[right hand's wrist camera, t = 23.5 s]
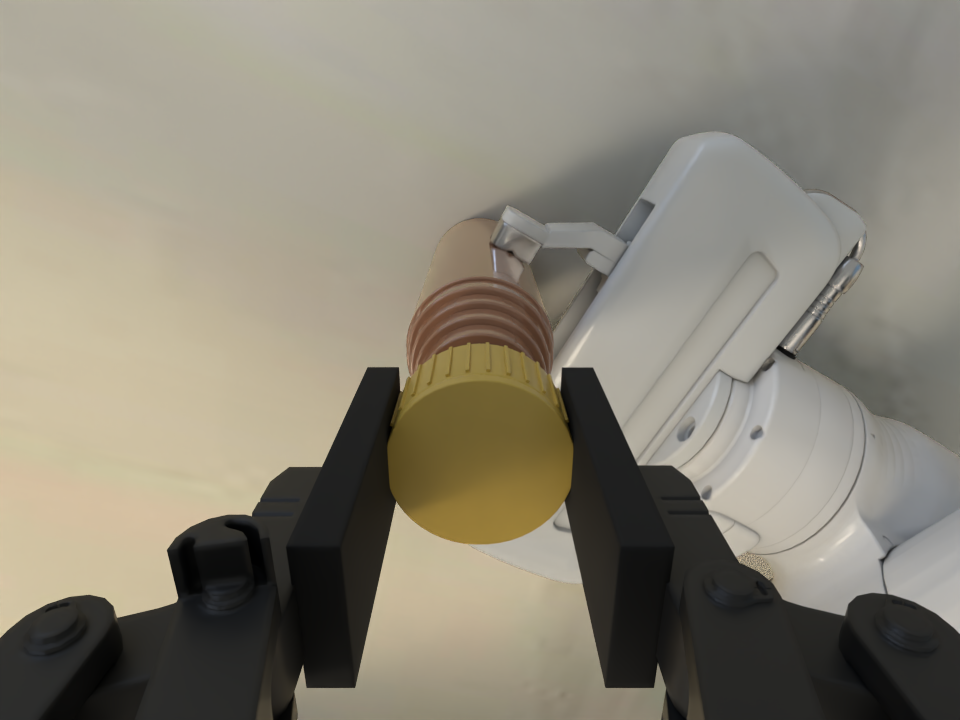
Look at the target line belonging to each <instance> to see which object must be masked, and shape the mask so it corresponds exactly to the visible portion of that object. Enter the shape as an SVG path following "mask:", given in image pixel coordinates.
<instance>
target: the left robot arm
mask: <svg viewBox="0 0 960 720" xmlns="http://www.w3.org/2000/svg"><path fill="white" fill-rule="evenodd" d="M490 238H491V239H490V241H491V242H492V243H493V244H494V245H495V246H497V247H498V248H500V249H502V250H504V251H512V252H513V254H514V256H515V257H516V258H518V259H519V260H521V261H523V262H525V263H527V264H528V265H530V263H531V262H532V260H533V259H534V257H535V255H536V254H537V252H538V251H539V249H540V247H541V248H577V251H578V253H579V255H580V256H581V257H582V259H583V260H584V261H585V263H586V264H588V265H590V266H591V267H593V269H592V271H591V273H590V274H589V276H588V277H587V279H586V280H585V282H584V283H583V285H582V287H581V288H580V290H579V291H578V293H577V294H576V296H575V297H574V299H573V301H572V302H571V304H570V305H569V307H568V308H567V310H566V311H565V313H564V315H563V316H562V318H561V319H560V321H559V322H558V324H557V325H556V327H555V329H554V330H553V338H554V360H553V367H552V371H551V374H550V375H551V376H552V380H553V383H554V385H555V387H556V388H559V389H560V391H561V373H562V367H593V368H594V371H595V373H596V375H597V377H598V379H599V381H600V384H601V386H602V388H603V390H604V392H605V395H606V397H607V399H608V401H609V403H610V406H611V408H612V410H613V412H614V414H615V417H616V419H617V421H618V423H619V425H620V427H621V430H622V432H623V434H624V436H625V438H626V441H627V443H628V445H629V447H630V449H631V452H632V454H633V456H634V458H635V460H636V462H637V465H672V466H673V467H674V468H676V469H677V470H678V471H680V472H681V473H682V474H684V475H685V476H686V477H687V478H689V479H690V480H691V481H692V483H693V485H694V487H695V488H696V490H697V492H698V493H699V495H700V497H701V500H703V502H704V504H705V505H706V507H707V509H708V510H709V515H711V516H712V517H713V519H714V521H715V522H716V524H717V526H718V528H719V529H720V531H721V533H722V534H723V536H724V538H725V539H726V541H727V543H728V545H729V546H730V548H731V550H732V551H733V553H734V555H735V557H739V556H741V555H743V554H745V553H746V552H747V553H751V554H754V555H756V556H759V557H761V558H763V559H764V560H765V561H766V562H767V564H768V565H769V566H770V568H771V570H772V573H773V578H772V579H770V580H769V581H770V582H772V583H773V584H774V586H775V587H776V589H777V591H778V592H779V594H780V595H781V597H782V599H783V600H786V601H788V602H791V603H794V604H798V605H801V606H804V607H809V608H813V609H817V610H822V611H826V612H830V613H834V614H839V615H843V616H845V613H846V610H847V607H848V604H849V603H850V602H851V601H852V600H853V599H854V598H855V597H856V596H858V595H863V594H868V593H881V594H890V595H895V596H898V597H901V598H904V599H907V600H910V601H913V602H915V603H917V604H919V605H921V606H923V607H925V608H927V609H929V610H930V611H932V612H934V613H936V614H937V615H939V616H940V617H941V618H942V619H943V620H945V621H946V622H947V623H948V624H950V625H951V626H952V627H953V628H955V629H956V630H957V632H958V633H959V634H960V457H959V456H958V455H956V454H955V453H953V452H952V451H950V450H949V449H947V448H946V447H944V446H943V445H941V444H940V443H938V442H936V441H935V440H933V439H932V438H930V437H928V436H927V435H925V434H923V433H922V432H920V431H918V430H917V429H915V428H913V427H911V426H909V425H907V424H905V423H902V422H900V421H897V420H894V419H890V418H887V417H881V416H876V415H874V414H872V413H871V412H869V410H868V409H867V408H866V406H865V405H864V404H863V403H862V402H861V401H860V400H859V399H858V398H857V397H856V396H855V395H854V394H853V393H852V392H850V391H849V390H848V389H846V388H845V387H843V386H842V385H840V384H838V383H836V382H835V381H833V380H831V379H830V378H828V377H826V376H824V375H823V374H821V373H819V372H818V371H816V370H814V369H813V368H811V367H809V366H807V365H806V364H804V363H802V362H801V361H799V360H798V359H796V357H795V355H796V354H797V353H798V352H799V350H800V349H801V348H802V347H803V346H804V344H805V343H806V342H807V341H808V339H809V338H810V337H811V336H812V334H813V333H814V332H815V331H816V330H817V328H818V327H819V325H820V324H821V322H822V320H823V319H824V318H825V316H826V314H827V313H828V311H829V310H830V309H829V308H831V307H832V306H833V305H834V302H836V301H837V300H838V299H839V297H840V296H841V295H842V294H845V293H846V292H847V291H848V290H849V289H850V288H851V287H852V285H853V284H854V283H855V281H856V280H857V279H858V277H859V275H860V273H861V272H862V270H863V267H864V266H863V264H861V263H860V262H859V260H860V258H861V256H862V254H863V252H864V249H865V245H866V238H867V236H866V224H865V222H864V220H863V219H862V217H861V216H860V215H859V214H858V213H857V212H856V211H855V210H854V209H853V208H851V207H850V206H848V205H847V204H845V203H844V202H842V201H841V200H839V199H837V198H836V197H834V196H833V195H831V194H830V193H828V192H825V191H823V190H818V189H805V190H802V189H801V188H800V187H799V186H798V185H797V184H796V183H795V182H794V181H793V180H792V179H791V178H790V177H789V176H788V175H786V174H785V173H784V172H783V171H782V170H781V169H780V168H778V167H777V166H776V165H775V164H774V163H772V162H771V161H770V160H769V159H768V158H766V157H765V156H764V155H762V154H761V153H760V152H759V151H757V150H756V149H755V148H753V147H752V146H751V145H749V144H748V143H746V142H745V141H743V140H742V139H740V138H739V137H737V136H734V135H731V134H729V133H724V132H717V131H709V132H702V133H697V134H693V135H689V136H685V137H682V138H680V139H678V140H677V141H675V143H674V144H673V145H672V147H671V148H670V150H669V151H668V153H667V154H666V156H665V157H664V159H663V160H662V162H661V164H660V165H659V167H658V168H657V170H656V171H655V173H654V174H653V176H652V178H651V179H650V181H649V182H648V184H647V185H646V187H645V188H644V190H643V192H642V193H641V195H640V196H639V198H638V199H637V201H636V202H635V204H634V206H633V207H632V209H631V210H630V212H629V213H628V215H627V216H626V218H625V220H624V221H623V223H622V224H621V226H620V227H619V229H618V230H617V232H616V234H615V235H614V234H612V233H611V232H609V231H607V230H605V229H604V228H602V227H600V226H599V225H597V224H595V223H593V222H575V223H546V225H545V226H544V225H543V224H541V223H539V222H538V221H536V220H534V219H532V218H531V217H529V216H527V215H526V214H524V213H522V212H520V211H519V210H517V209H515V208H513V207H511V206H508V205H507V207H506V209H505V211H504V212H503V214H502V216H501V218H500V219H499V221H498V223H497V225H496V227H495V229H494V231H493V232H492V234H491V236H490ZM852 248H853V249H852ZM851 250H852V251H851ZM850 251H851V254H850V256H847V255H848V253H849V252H850ZM468 545H470V546H471V547H473V548H475V549H477V550H479V551H480V552H482V553H484V554H487V555H489V556H491V557H493V558H496V559H498V560H500V561H503V562H505V563H507V564H510V565H512V566H515V567H517V568H520V569H522V570H525V571H528V572H530V573H533V574H536V575H539V576H542V577H545V578H548V579H551V580H554V581H558V582H563V583H569V584H583V583H582V578H581V574H580V569H579V565H578V560H577V556H576V551H575V547H574V542H573V537H572V533H571V528H570V524H569V519H568V515H567V510H566V506H565V501H564V502H563V504H562V505H561V507H560V508H559V509H558V511H557V512H556V513H555V514H554V515H553V516H552V517H551V518H550V519H549V520H548V521H546V522H545V523H544V524H543V525H542V526H540V527H538V528H537V529H535V530H534V531H532V532H530V533H528V534H526V535H524V536H522V537H519V538H516V539H513V540H511V541H506V542H502V543H496V544H488V545H474V544H468Z"/></svg>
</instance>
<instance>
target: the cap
mask: <svg viewBox="0 0 960 720" xmlns="http://www.w3.org/2000/svg"><path fill="white" fill-rule="evenodd" d="M568 422H569V419H568V416H567V412H566V409H565V406H564V402H563V399H562V396H561V392H560V389H559V388H556V387H555V385H554V383H553V380H552V376H551V375H550V374H548V375H547V373H546V372H545V371H544V370H543V369H542V368H541V367H540V364H539V362H536V363H535V362H534V361H533V360H531V359H530V358H528V357H527V356H525V353H524V352H521V353H519V352H517V351H515V350H513V349H510V348H508V346H506V345H504V347H502V346H498V345H491V344H489V342H486V344H480V343H479V344H471V343H467V345H462V346H458V347H452V346H451V347H449V349H448V350H446V351H443V352H441V353H439V354H437V355H436V354H433V355H432V358H431V359H429V360H428V361H427V362H425V363H424V364H423V365H421V364H420V365H419V366H418V368H417V371H416V372H415V373H414V374H413V375H412V377H411V378H410V377H408V378H407V381H406V384H405V388H404V390H403V392H402V391H400V393H399V396H398V399H397V403H396V406H395V410H394V413H393V416H392V420H391V423H390V426H392V429H391V432H390V436H389V439H388V443H387V453H388V468H389V483H390V489H391V492H392V494H393V496H394V498H395V500H396V501H397V503H398V504H399V506H400V507H401V508H402V510H403V511H404V512H405V513H406V514H407V515H408V516H409V517H410V518H411V519H412V520H413V521H414V522H415V523H417V524H418V525H419V526H421V527H422V528H424V529H425V530H427V531H429V532H430V533H432V534H435V535H437V536H439V537H441V538H444V539H447V540H450V541H454V542H459V543H464V544H474V545H488V544H496V543H502V542H506V541H511V540H513V539H516V538H519V537H522V536H524V535H526V534H528V533H530V532H532V531H534V530H535V529H537V528H538V527H540V526H542V525H543V524H544V523H545V522H546V521H548V520H549V519H550V518H551V517H552V516H553V515H554V514H555V513H556V512H557V511H558V509H559V508H560V507H561V505H562V504H563V502H564V501H565V499H566V497H567V495H568V493H569V491H570V489H571V478H572V463H573V447H574V446H573V441H572V437H571V434H570V430H569V427H568Z"/></svg>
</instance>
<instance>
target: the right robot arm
mask: <svg viewBox="0 0 960 720" xmlns="http://www.w3.org/2000/svg"><path fill="white" fill-rule="evenodd" d="M560 392H561V396H562V399H563V402H564V406H565V409H566V412H567V416H568V419H569V422H568V427H569V430H570V434H571V437H572V441H573V446H574V447H573V463H572V478H571V489H570V491H569V493H568V495H567V497H566V499H565V506H566V510H567V515H568V519H569V524H570V528H571V533H572V537H573V542H574V547H575V551H576V556H577V560H578V565H579V569H580V574H581V578H582V583H583V587H584V592H585V596H586V601H587V606H588V610H589V615H590V619H591V624H592V628H593V633H594V637H595V642H596V646H597V651H598V655H599V660H600V665H601V669H602V674H603V678H604V683H605V687H606V688H654V684H655V677H656V670H657V664H659V667H660V670H661V673H662V676H663V679H664V682H665V685H666V694H665V700H664V706H663V712H662V719H661V720H960V634H959V633H958V632H957V630H956V629H955V628H953V627H952V626H951V625H950V624H948V623H947V622H946V621H945V620H943V619H942V618H941V617H940V616H939V615H937V614H936V613H934V612H932V611H930V610H929V609H927V608H925V607H923V606H921V605H919V604H917V603H915V602H913V601H910V600H907V599H904V598H901V597H898V596H895V595H890V594H881V593H868V594H863V595H858V596H856V597H855V598H854V599H853V600H852V601H851V602H850V603H849V604H848V607H847V610H846V613H845V616H843V615H839V614H834V613H830V612H826V611H822V610H817V609H813V608H809V607H804V606H801V605H798V604H794V603H791V602H788V601H786V600H783V599H782V597H781V595H780V594H779V592H778V591H777V589H776V587H775V586H774V584H773V583H772V582H770V581H769V580H768V579H767V578H765V577H764V576H763V575H762V574H761V573H759V572H757V571H755V570H753V569H751V568H749V567H747V566H745V565H743V564H740V563H739V562H738V560H737V558H736V557H735V555H734V553H733V551H732V550H731V548H730V546H729V545H728V543H727V541H726V539H725V538H724V536H723V534H722V533H721V531H720V529H719V528H718V526H717V524H716V522H715V521H714V519H713V517H712V516H711V515H709V510H708V509H707V507H706V505H705V504H704V502H703V500H701V497H700V495H699V493H698V492H697V490H696V488H695V487H694V485H693V483H692V481H691V480H690V479H689V478H687V477H686V476H685V475H684V474H682V473H681V472H680V471H678V470H677V469H676V468H674V467H673V466H672V465H637V462H636V460H635V458H634V456H633V454H632V452H631V449H630V447H629V445H628V443H627V441H626V438H625V436H624V434H623V432H622V430H621V427H620V425H619V423H618V421H617V419H616V417H615V414H614V412H613V410H612V408H611V406H610V403H609V401H608V399H607V397H606V395H605V392H604V390H603V388H602V386H601V384H600V381H599V379H598V377H597V375H596V373H595V371H594V368H593V367H562V373H561V391H560ZM399 393H400V379H399V367H368V368H367V370H366V372H365V374H364V376H363V379H362V381H361V383H360V385H359V387H358V390H357V392H356V394H355V396H354V398H353V401H352V403H351V405H350V407H349V409H348V411H347V414H346V416H345V418H344V420H343V422H342V425H341V427H340V429H339V431H338V433H337V436H336V438H335V440H334V442H333V444H332V447H331V449H330V451H329V453H328V455H327V457H326V460H325V462H324V464H323V466H322V467H289V468H288V469H286V470H285V471H284V472H282V473H281V474H280V475H278V476H277V477H276V478H275V479H273V480H272V481H271V482H270V483H269V485H268V487H267V488H266V490H265V492H264V494H263V495H262V497H261V500H260V502H258V504H257V506H256V507H255V509H254V511H253V512H252V517H251V516H248V515H225V516H220V517H216V518H211V519H208V520H205V521H203V522H201V523H199V524H196V525H194V526H192V527H190V528H189V529H187V530H186V531H184V532H183V533H182V534H180V535H179V536H178V537H176V538H175V540H174V541H173V543H172V544H171V545H170V547H169V548H168V549H167V552H168V556H169V561H170V565H171V569H172V573H173V577H174V581H175V586H176V590H177V594H178V601H177V602H176V603H174V604H171V605H168V606H164V607H161V608H158V609H154V610H149V611H145V612H141V613H137V614H132V615H128V616H124V617H119V618H117V617H116V614H115V610H114V607H113V606H112V605H111V604H110V603H109V602H108V601H107V600H106V599H105V598H102V597H97V596H92V595H84V596H75V597H68V598H65V599H62V600H59V601H56V602H53V603H50V604H47V605H45V606H43V607H41V608H39V609H38V610H36V611H34V612H32V613H30V614H28V615H26V616H25V617H24V618H23V619H21V620H20V621H19V622H18V623H16V624H15V625H14V626H13V627H11V628H10V629H9V630H8V631H7V632H6V633H5V634H4V635H3V636H2V637H1V638H0V720H297V715H298V714H297V707H296V700H295V694H294V690H295V687H296V684H297V681H298V678H299V675H300V672H301V669H302V666H304V673H305V679H306V686H307V688H355V686H356V681H357V677H358V672H359V668H360V663H361V658H362V654H363V649H364V645H365V640H366V636H367V631H368V627H369V622H370V618H371V613H372V609H373V604H374V599H375V595H376V590H377V586H378V581H379V577H380V572H381V568H382V563H383V559H384V554H385V549H386V545H387V540H388V536H389V531H390V527H391V522H392V518H393V513H394V509H395V504H396V500H395V498H394V496H393V494H392V492H391V489H390V483H389V468H388V453H387V443H388V439H389V436H390V432H391V429H392V426H390V423H391V420H392V416H393V413H394V410H395V406H396V403H397V399H398V396H399Z"/></svg>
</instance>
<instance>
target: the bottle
mask: <svg viewBox="0 0 960 720" xmlns="http://www.w3.org/2000/svg"><path fill="white" fill-rule="evenodd" d="M497 223H498V222H497V221H495V220H491V219H485V218H475V219H469V220H466V221H463V222H461V223H458V224H457V225H455V226H453V227H452V228H451V229H450V230H448V231H447V232H446V233H445V234H444V236H443V237H442V238H441V240H440V242H439V243H438V245H437V248H436V251H435V253H434V256H433V259H432V262H431V265H430V268H429V271H428V274H427V277H426V279H425V282H424V285H423V288H422V291H421V294H420V297H419V300H418V303H417V305H416V308H415V311H414V314H413V317H412V320H411V323H410V326H409V329H408V334H407V344H406V347H407V365H408V369H409V373H410V376H411V377H412V375H413V374H414V373H415V372H416V371H417V368H418V366H419V365H420V364H421V365H423V364H424V363H425V362H427V361H428V360H429V359H431V358H432V355H433V354H436V355H437V354H439V353H441V352H443V351H446V350H448V349H449V347H451V346H452V347H458V346H462V345H467V343H471V344H479V343H480V344H486V342H489V344H491V345H498V346H502V347H504V345H506V346H508V348H510V349H513V350H515V351H517V352H519V353H521V352H524V353H525V356H527V357H528V358H530V359H531V360H533V361H534V362H535V363H536V362H539V364H540V367H541V368H542V369H543V370H544V371H545V372H546V373H547V375H548V374H551V371H552V367H553V360H554V338H553V332H552V328H551V324H550V321H549V319H548V316H547V313H546V310H545V307H544V304H543V301H542V298H541V296H540V293H539V290H538V287H537V284H536V281H535V278H534V275H533V273H532V270H531V267H530V265H528V264H527V263H525V262H523V261H521V260H519V259H518V258H516V257H515V256H514V254H513V252H512V251H504V250H502V249H500V248H498V247H497V246H495V245H494V244H493V243H492V242H491V241H490V239H491V238H490V236H491V234H492V232H493V231H494V229H495V227H496V225H497Z"/></svg>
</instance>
